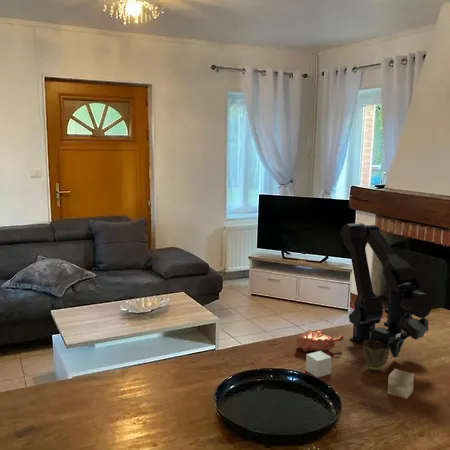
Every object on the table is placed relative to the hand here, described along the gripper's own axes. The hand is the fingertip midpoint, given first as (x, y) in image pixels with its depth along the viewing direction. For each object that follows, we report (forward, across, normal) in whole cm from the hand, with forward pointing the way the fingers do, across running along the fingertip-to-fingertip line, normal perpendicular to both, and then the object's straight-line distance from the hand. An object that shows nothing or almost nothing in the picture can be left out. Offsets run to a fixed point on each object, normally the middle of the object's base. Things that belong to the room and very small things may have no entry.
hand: (395, 356), depth 149 cm
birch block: (+1, -16, -12) cm, 20 cm away
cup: (+1, -10, 0) cm, 10 cm away
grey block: (+1, -24, +9) cm, 26 cm away
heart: (+1, -12, +20) cm, 23 cm away
